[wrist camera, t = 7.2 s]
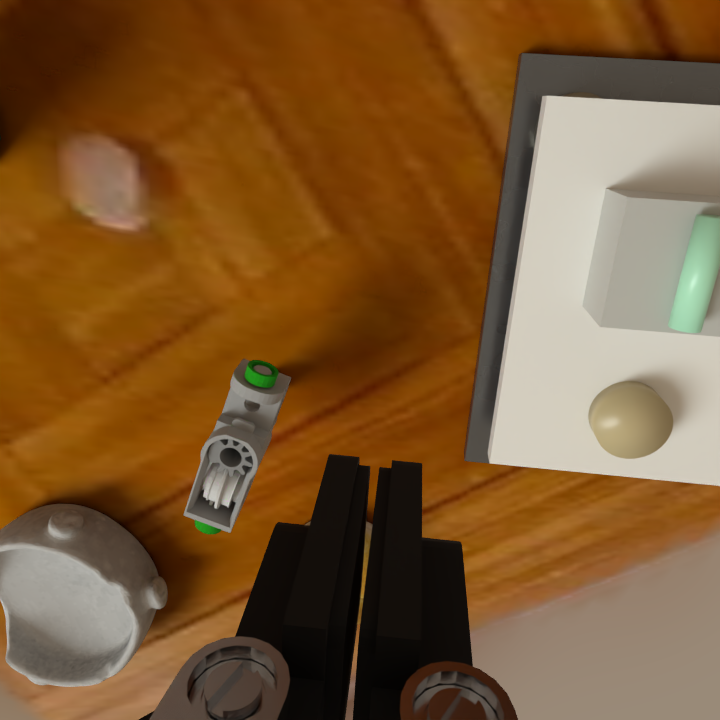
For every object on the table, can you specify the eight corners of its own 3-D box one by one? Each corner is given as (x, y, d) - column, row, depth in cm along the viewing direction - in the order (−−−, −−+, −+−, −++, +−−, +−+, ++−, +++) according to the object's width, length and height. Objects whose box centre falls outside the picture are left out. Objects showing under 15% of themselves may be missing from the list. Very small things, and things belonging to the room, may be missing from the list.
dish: (76, 658, 52) (43, 710, 48) (-36, 539, 49) (-84, 584, 44) (210, 600, 48) (187, 651, 44) (99, 466, 45) (61, 507, 40)
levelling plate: (542, 96, 30) (570, 91, 24) (842, 113, 29) (944, 112, 23) (487, 452, 37) (498, 512, 32) (725, 475, 36) (780, 541, 31)
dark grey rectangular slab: (519, 54, 32) (527, 49, 29) (840, 71, 31) (878, 68, 28) (463, 452, 41) (466, 475, 39) (710, 476, 40) (729, 502, 37)
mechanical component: (319, 321, 39) (287, 387, 29) (270, 450, 42) (228, 545, 33) (275, 304, 38) (229, 365, 29) (230, 435, 42) (176, 525, 33)
